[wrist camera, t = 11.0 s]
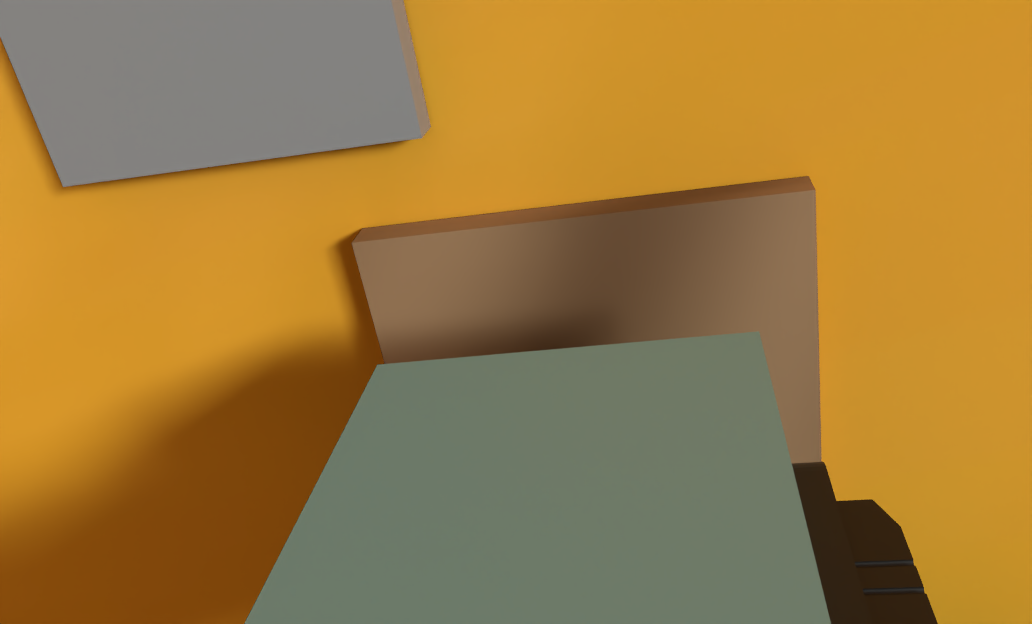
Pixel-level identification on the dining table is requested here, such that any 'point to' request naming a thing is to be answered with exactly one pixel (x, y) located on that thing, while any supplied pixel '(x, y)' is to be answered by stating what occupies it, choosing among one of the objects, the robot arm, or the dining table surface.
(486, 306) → the pad
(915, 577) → the robot arm
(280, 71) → the pad
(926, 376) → the dining table surface
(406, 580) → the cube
